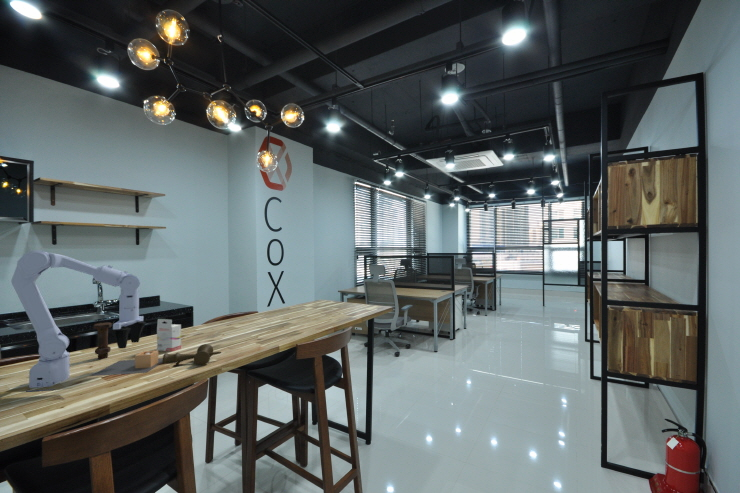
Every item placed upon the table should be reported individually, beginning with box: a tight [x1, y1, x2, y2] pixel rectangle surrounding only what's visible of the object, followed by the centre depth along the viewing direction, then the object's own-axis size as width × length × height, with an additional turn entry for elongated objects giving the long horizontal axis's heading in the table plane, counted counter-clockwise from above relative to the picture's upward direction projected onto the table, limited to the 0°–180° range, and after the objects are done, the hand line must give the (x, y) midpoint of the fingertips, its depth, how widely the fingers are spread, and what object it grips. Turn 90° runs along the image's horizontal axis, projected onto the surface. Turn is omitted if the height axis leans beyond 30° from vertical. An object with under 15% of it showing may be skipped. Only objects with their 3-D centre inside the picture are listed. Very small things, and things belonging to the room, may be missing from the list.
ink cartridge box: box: [156, 318, 182, 352], centre depth 140 cm, size 9×5×15 cm, turn 73°
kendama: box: [162, 343, 222, 366], centre depth 125 cm, size 6×10×20 cm
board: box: [89, 353, 163, 377], centre depth 118 cm, size 16×18×6 cm
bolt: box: [93, 322, 113, 360], centre depth 129 cm, size 6×5×15 cm
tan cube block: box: [134, 350, 159, 368], centre depth 119 cm, size 5×5×4 cm
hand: (128, 345), depth 118 cm, fingers open, 7 cm apart
